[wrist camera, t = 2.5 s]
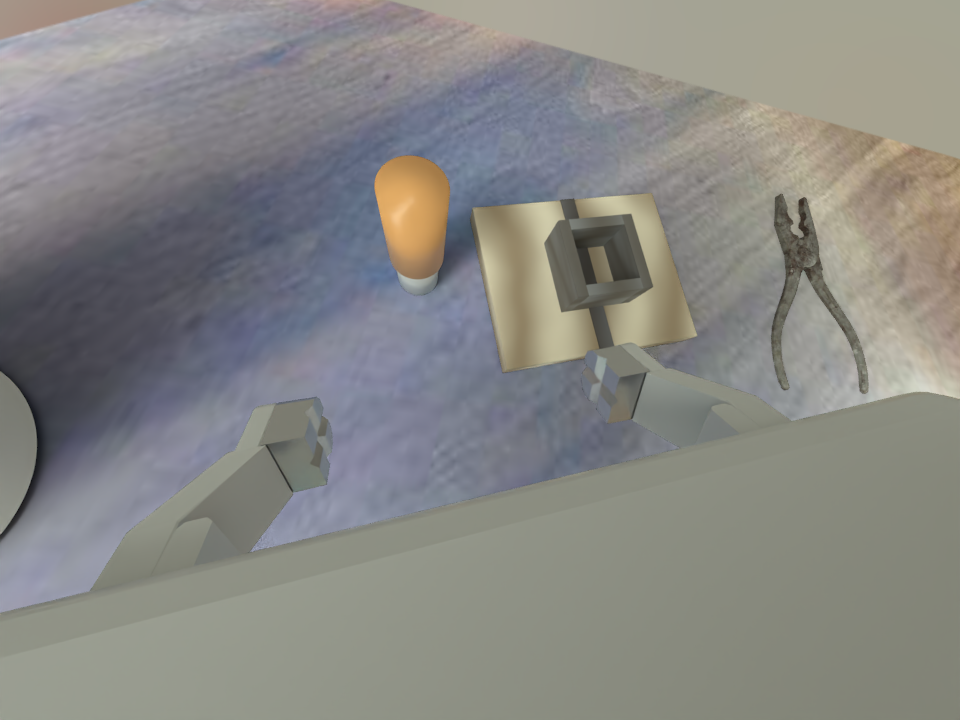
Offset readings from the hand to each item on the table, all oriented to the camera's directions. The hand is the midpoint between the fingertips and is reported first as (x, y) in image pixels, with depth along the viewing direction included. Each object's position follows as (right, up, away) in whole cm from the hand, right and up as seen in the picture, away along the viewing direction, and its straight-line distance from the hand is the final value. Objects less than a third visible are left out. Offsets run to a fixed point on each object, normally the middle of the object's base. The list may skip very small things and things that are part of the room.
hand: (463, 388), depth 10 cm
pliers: (+30, +7, +22) cm, 37 cm away
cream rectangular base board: (+9, +8, +18) cm, 21 cm away
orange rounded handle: (-4, +7, +16) cm, 18 cm away
